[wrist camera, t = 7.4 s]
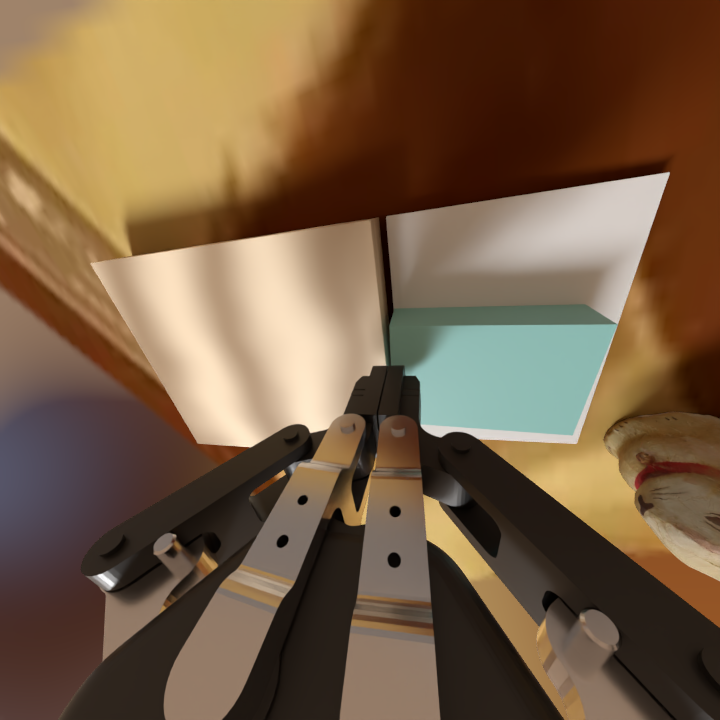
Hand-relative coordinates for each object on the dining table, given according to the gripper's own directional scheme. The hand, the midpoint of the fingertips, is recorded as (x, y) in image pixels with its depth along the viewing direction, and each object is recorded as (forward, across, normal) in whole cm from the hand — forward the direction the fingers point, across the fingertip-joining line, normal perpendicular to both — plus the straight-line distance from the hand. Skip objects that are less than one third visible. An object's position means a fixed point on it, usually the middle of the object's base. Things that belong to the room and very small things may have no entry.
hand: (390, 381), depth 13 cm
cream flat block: (+4, +8, 0) cm, 9 cm away
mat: (+4, -5, 0) cm, 7 cm away
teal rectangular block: (+4, -4, +1) cm, 6 cm away
